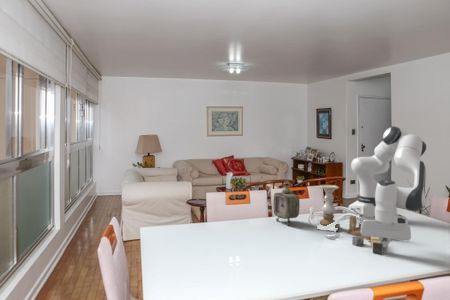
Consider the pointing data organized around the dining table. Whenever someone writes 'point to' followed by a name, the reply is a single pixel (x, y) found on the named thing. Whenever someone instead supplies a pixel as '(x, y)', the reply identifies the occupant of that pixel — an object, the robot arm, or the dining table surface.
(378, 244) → the hinged leg
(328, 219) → the candle holder
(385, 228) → the robot arm
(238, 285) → the dining table surface
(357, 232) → the stool seat
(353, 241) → the block
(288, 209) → the tabletop clock
